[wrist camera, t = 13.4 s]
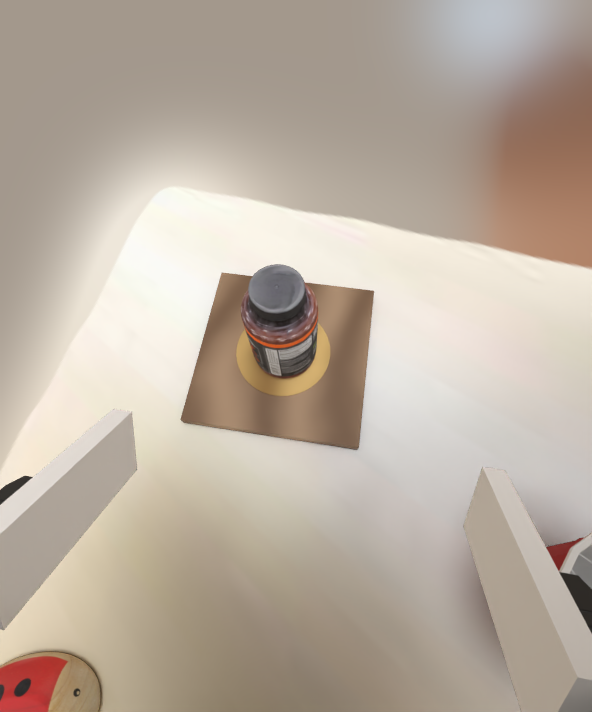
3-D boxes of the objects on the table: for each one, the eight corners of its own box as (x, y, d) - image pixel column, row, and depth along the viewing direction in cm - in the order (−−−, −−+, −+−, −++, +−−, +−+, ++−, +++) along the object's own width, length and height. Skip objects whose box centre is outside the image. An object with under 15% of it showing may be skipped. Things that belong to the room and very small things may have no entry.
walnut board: (372, 296, 41) (374, 290, 40) (357, 449, 35) (358, 447, 34) (223, 278, 43) (221, 271, 41) (183, 422, 36) (180, 419, 35)
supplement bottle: (249, 331, 39) (227, 259, 28) (308, 318, 39) (307, 243, 29) (260, 387, 36) (241, 332, 26) (323, 373, 37) (329, 313, 26)
